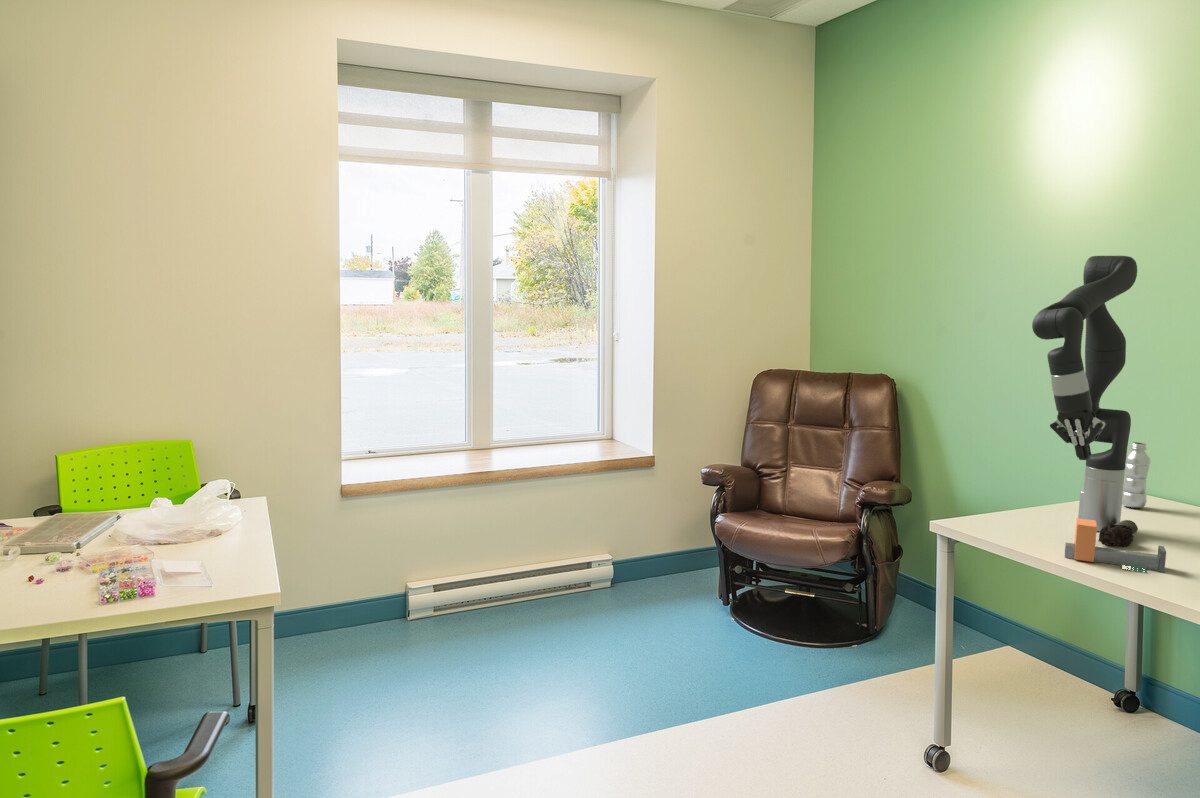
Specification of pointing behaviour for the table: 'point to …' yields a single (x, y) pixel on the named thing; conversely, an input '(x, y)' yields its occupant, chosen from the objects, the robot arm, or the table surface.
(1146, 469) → the plastic bottle
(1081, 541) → the sleeve
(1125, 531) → the dark brown rough lump
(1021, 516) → the table surface
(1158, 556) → the bar
